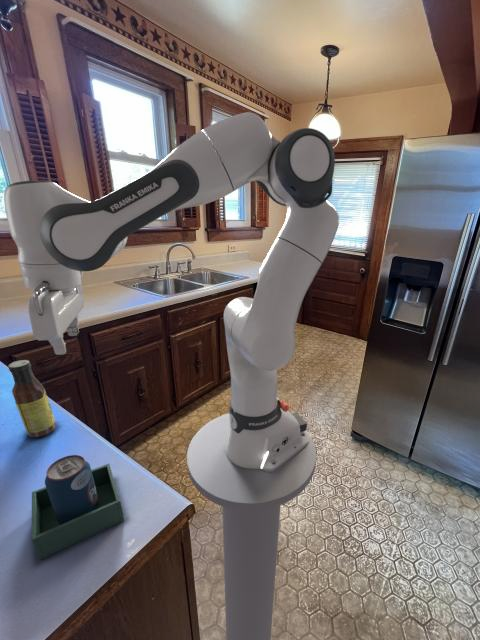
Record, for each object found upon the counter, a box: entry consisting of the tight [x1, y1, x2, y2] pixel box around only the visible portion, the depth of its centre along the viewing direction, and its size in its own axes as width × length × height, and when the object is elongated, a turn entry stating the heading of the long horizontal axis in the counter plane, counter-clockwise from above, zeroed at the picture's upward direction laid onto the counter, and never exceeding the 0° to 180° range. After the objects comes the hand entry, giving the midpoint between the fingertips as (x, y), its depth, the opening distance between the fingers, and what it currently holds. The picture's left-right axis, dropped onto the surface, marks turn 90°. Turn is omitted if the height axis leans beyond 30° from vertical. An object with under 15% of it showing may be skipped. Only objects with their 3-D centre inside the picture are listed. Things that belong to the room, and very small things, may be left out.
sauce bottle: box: [7, 359, 57, 438], centre depth 77 cm, size 7×6×20 cm
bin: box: [31, 463, 125, 561], centre depth 59 cm, size 13×11×5 cm
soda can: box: [44, 454, 99, 525], centre depth 58 cm, size 7×7×12 cm
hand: (68, 343), depth 64 cm, fingers open, 8 cm apart
